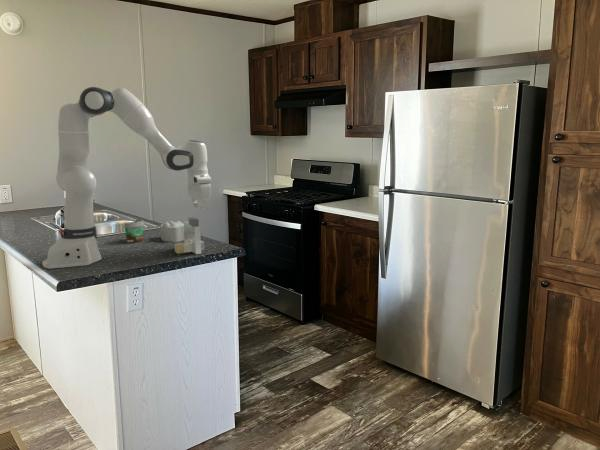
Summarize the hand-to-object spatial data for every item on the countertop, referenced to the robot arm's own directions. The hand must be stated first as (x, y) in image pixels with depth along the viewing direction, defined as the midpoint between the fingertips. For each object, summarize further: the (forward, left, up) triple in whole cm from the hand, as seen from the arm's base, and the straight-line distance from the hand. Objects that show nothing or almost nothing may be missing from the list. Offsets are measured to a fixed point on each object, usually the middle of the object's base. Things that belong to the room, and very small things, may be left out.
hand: (199, 208), depth 227 cm
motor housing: (-4, 0, -19) cm, 19 cm away
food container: (-21, +32, -19) cm, 43 cm away
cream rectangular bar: (-5, 0, -19) cm, 20 cm away
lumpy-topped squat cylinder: (-5, +28, -19) cm, 34 cm away
